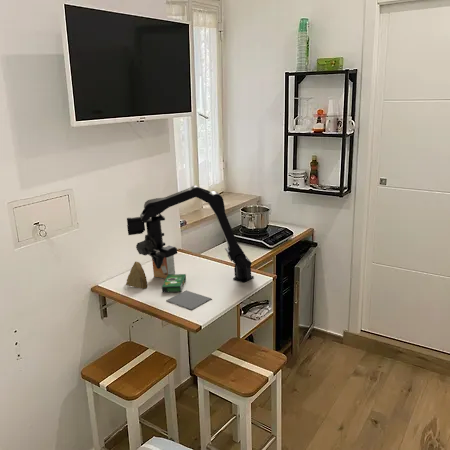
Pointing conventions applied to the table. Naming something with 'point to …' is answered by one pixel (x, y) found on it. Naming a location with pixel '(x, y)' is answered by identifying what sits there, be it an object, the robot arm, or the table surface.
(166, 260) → the small box
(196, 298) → the mat
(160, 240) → the robot arm
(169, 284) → the coffee box
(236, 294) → the table surface
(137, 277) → the rock
